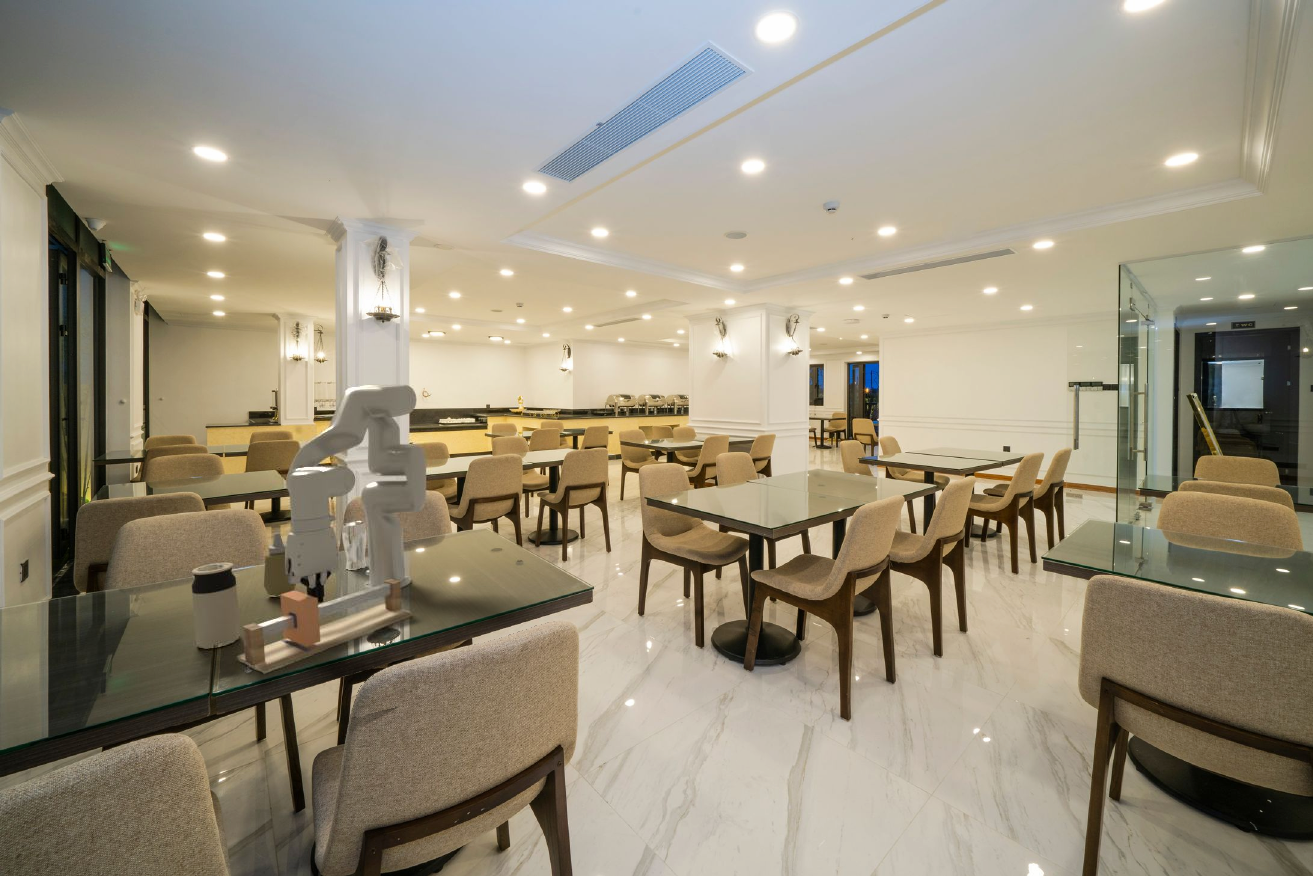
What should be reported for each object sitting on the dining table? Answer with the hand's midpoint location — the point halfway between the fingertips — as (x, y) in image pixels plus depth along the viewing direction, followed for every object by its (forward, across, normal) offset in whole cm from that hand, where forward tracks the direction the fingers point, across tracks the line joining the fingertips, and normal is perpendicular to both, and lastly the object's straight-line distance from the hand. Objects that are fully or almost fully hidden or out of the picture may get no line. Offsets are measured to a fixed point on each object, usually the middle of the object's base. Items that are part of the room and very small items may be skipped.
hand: (316, 602), depth 127 cm
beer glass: (+9, -36, -46) cm, 59 cm away
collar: (+8, +4, 0) cm, 8 cm away
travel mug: (+10, +12, -20) cm, 25 cm away
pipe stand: (+9, -3, 0) cm, 10 cm away
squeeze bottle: (+10, -11, -41) cm, 44 cm away
